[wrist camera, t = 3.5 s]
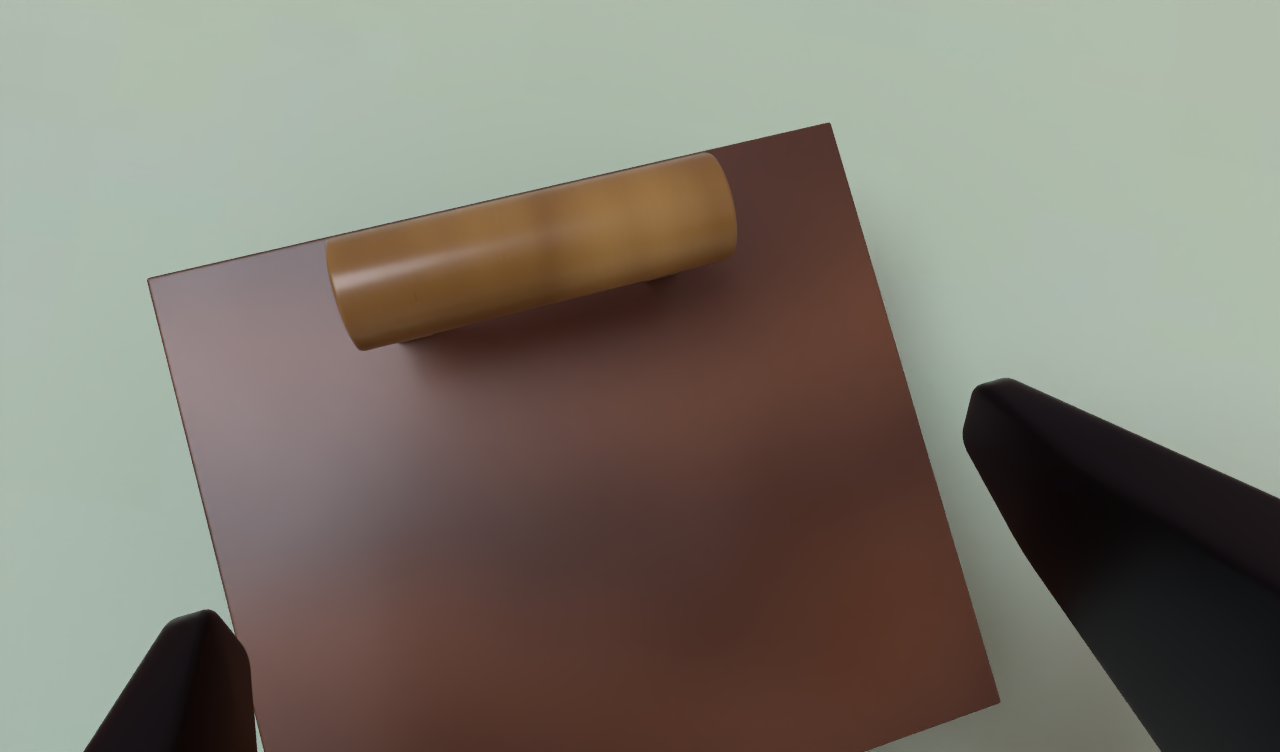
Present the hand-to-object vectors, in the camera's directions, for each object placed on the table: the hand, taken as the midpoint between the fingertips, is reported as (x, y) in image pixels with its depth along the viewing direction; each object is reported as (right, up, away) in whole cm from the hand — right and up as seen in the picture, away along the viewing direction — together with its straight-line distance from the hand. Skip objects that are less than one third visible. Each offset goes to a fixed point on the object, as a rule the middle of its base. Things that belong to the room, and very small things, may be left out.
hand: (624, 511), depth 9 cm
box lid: (-1, -1, +6) cm, 6 cm away
